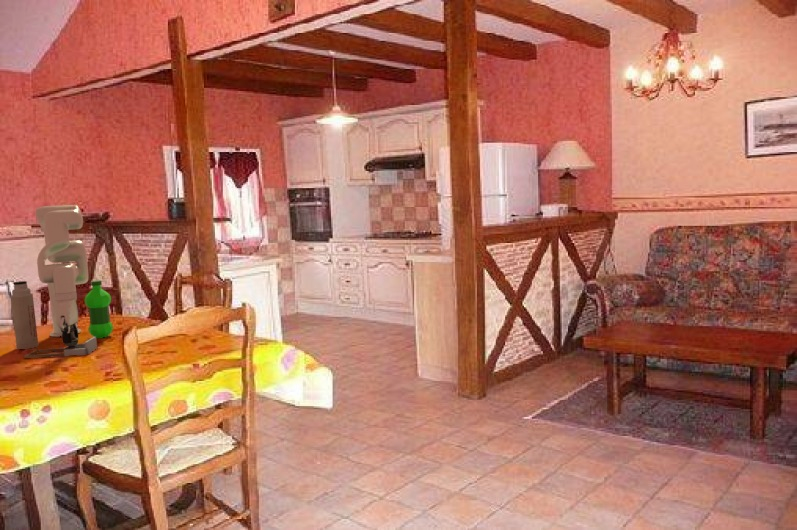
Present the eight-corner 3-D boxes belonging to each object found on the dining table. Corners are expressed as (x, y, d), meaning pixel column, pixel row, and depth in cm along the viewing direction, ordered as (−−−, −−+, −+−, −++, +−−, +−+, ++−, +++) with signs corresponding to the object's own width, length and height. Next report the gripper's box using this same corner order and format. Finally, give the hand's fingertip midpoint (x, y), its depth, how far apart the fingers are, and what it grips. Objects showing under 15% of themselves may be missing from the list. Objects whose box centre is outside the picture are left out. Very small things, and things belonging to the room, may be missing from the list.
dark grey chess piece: (67, 347, 264) (63, 317, 263) (82, 346, 264) (79, 317, 263) (60, 350, 258) (57, 320, 257) (76, 349, 259) (73, 320, 257)
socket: (74, 350, 266) (73, 338, 266) (97, 348, 267) (96, 336, 266) (64, 356, 256) (63, 343, 256) (88, 354, 257) (86, 342, 257)
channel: (35, 352, 265) (35, 349, 265) (74, 350, 266) (74, 347, 266) (24, 358, 255) (23, 355, 255) (64, 356, 256) (64, 353, 256)
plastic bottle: (98, 334, 295) (92, 279, 292) (119, 334, 293) (113, 279, 290) (83, 339, 285) (77, 283, 282) (105, 339, 283) (99, 282, 280)
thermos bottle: (42, 345, 278) (35, 280, 275) (28, 349, 270) (21, 282, 267) (26, 345, 280) (19, 280, 276) (12, 349, 272) (4, 283, 269)
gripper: (65, 293, 267) (69, 336, 269) (46, 301, 250) (51, 347, 252) (84, 292, 268) (88, 335, 270) (67, 299, 251) (71, 345, 253)
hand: (70, 340), depth 261 cm, fingers closed on dark grey chess piece, 5 cm apart
